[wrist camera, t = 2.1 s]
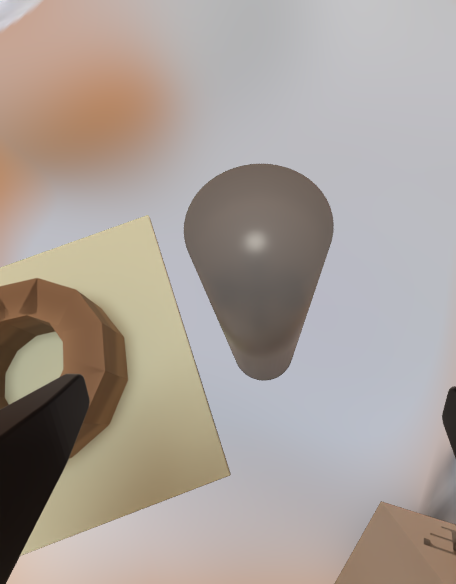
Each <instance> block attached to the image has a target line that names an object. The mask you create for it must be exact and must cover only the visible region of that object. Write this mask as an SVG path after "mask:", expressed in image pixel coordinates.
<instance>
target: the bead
mask: <svg viewBox="0 0 456 584" xmlns="http://www.w3.org/2000/svg"><path fill="white" fill-rule="evenodd" d="M51 332H56V333H57V334H58V336H59V337H60V339H61V340H62V342H63V371H62V373H61V375H60V377H61V376H63V375H65V374H81V375H83V377H84V379H85V383H86V387H87V391H88V395H89V400H90V403H89V408H88V411H87V414H86V416H85V419H84V421H83V424H82V427H81V429H80V432H79V434H78V437H77V439H76V442H75V445H74V447H73V450H72V452H71V455H70V457H69V458H72V457H73V456H74V455H76V454H77V453H78V452H79V451H80V450H81V449H82V448H83V447H85V446H86V445H87V444H88V443H89V442H90V441H91V440H93V439H94V438H95V437H96V436H97V435H98V434H99V433H101V432H102V431H103V430H104V429H105V428H106V427H107V426H108V425H110V422H111V420H112V417H113V415H114V413H115V410H116V408H117V405H118V403H119V401H120V398H121V396H122V393H123V391H124V389H125V386H126V384H127V381H128V373H127V362H126V351H125V340H124V337H123V335H122V334H121V333H120V331H119V330H118V329H117V328H116V326H115V325H114V324H113V323H112V321H111V320H110V319H109V317H108V316H107V315H106V314H105V312H104V311H103V310H102V308H100V307H99V306H98V305H96V304H95V303H94V302H92V301H91V300H90V299H88V298H87V297H86V296H84V295H83V294H82V293H80V292H79V291H77V290H76V289H73V288H69V287H66V286H63V285H59V284H56V283H53V282H50V281H46V280H43V279H40V278H34V279H30V280H25V281H21V282H17V283H12V284H8V285H4V286H0V409H2V408H4V407H6V406H8V405H9V404H8V402H7V400H6V399H5V375H6V372H7V370H8V368H9V366H10V364H11V362H12V360H13V358H14V357H15V355H16V353H17V351H18V350H19V349H21V348H22V347H23V346H24V345H26V344H27V343H28V342H29V341H31V340H32V339H33V338H34V337H36V336H38V335H42V334H46V333H51Z"/></svg>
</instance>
